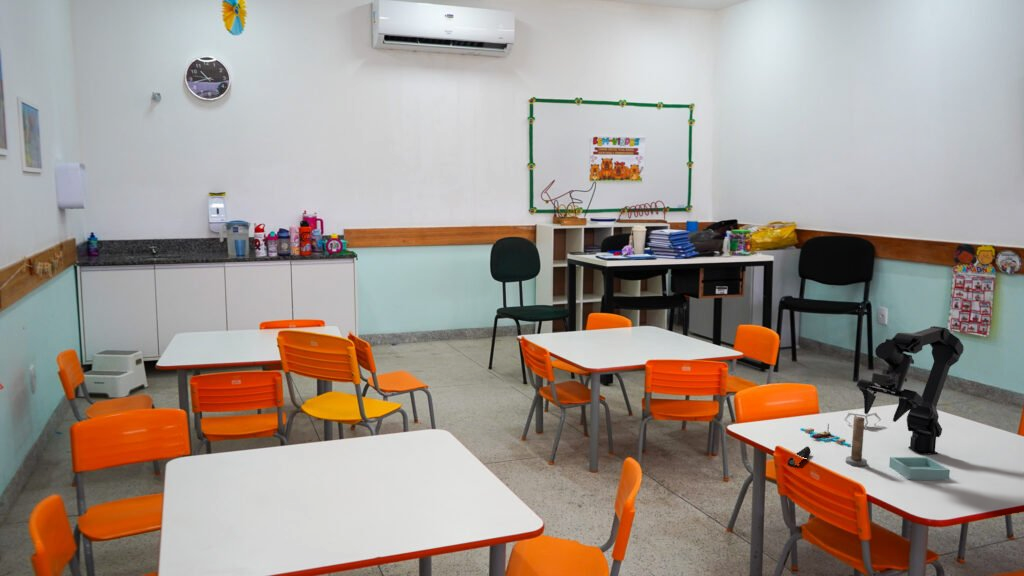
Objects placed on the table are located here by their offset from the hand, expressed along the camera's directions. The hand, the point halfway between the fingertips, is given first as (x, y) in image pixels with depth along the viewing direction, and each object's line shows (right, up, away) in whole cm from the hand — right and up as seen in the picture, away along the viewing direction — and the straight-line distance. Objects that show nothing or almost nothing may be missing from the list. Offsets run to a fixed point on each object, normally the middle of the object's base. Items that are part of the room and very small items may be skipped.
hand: (879, 417), depth 231 cm
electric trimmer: (-22, -15, +6) cm, 28 cm away
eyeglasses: (+16, -11, +44) cm, 48 cm away
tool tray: (+10, -16, -4) cm, 19 cm away
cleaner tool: (-5, -15, +4) cm, 16 cm away
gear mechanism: (-5, -13, +29) cm, 32 cm away
